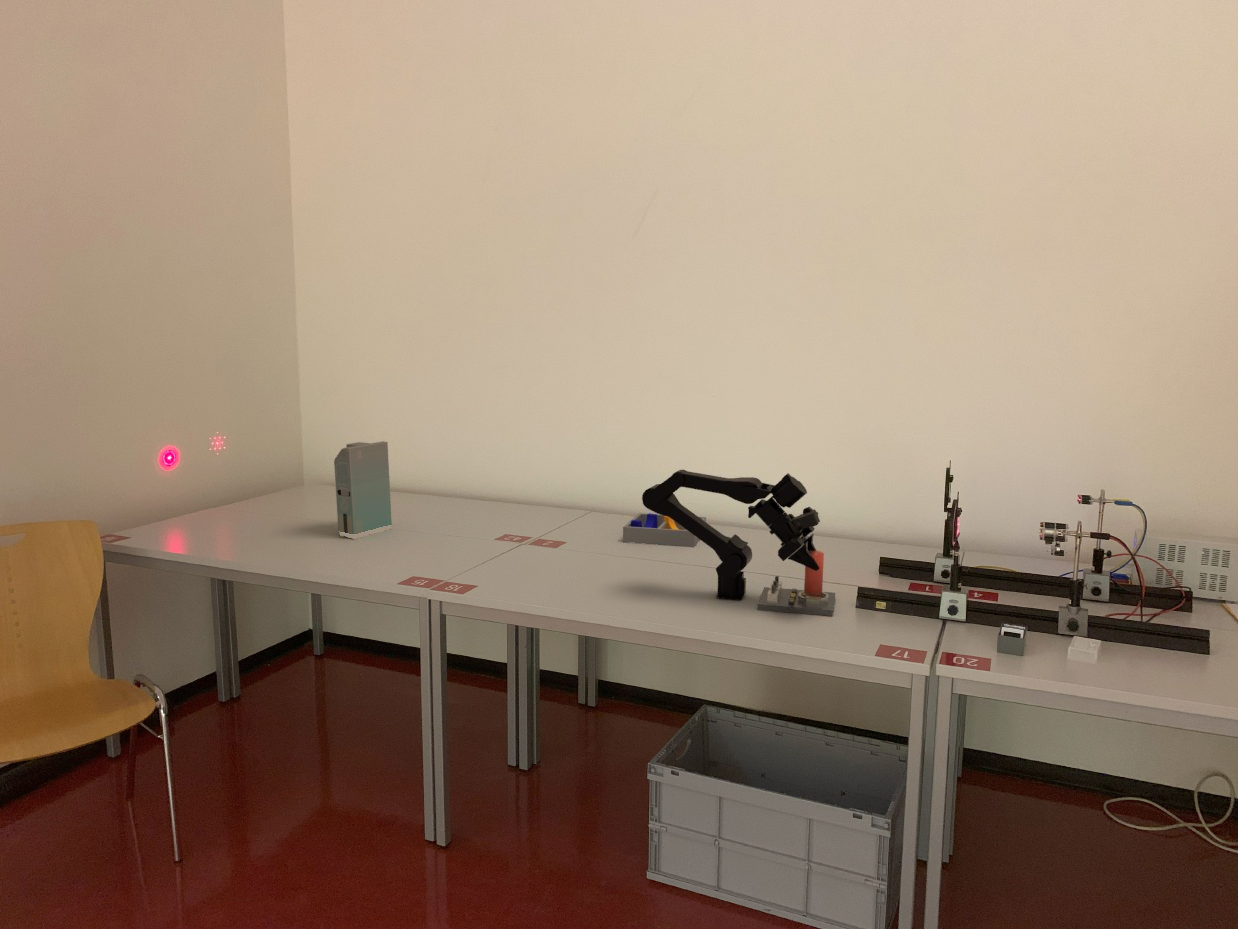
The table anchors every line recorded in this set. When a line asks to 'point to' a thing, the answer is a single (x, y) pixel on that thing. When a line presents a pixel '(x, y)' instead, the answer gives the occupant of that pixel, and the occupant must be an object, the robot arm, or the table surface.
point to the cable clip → (650, 522)
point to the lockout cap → (814, 575)
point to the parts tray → (659, 533)
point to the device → (362, 487)
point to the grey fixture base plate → (795, 600)
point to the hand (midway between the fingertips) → (819, 567)
